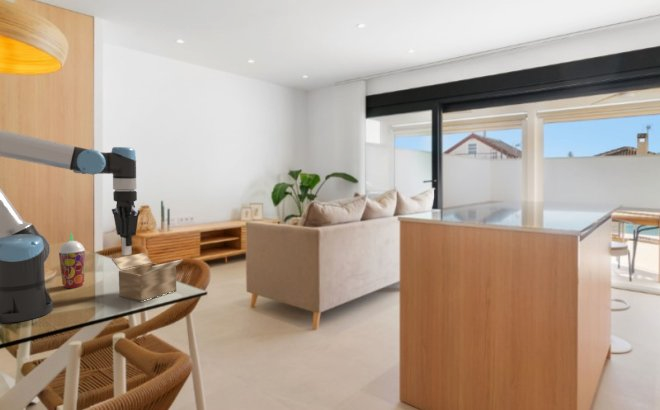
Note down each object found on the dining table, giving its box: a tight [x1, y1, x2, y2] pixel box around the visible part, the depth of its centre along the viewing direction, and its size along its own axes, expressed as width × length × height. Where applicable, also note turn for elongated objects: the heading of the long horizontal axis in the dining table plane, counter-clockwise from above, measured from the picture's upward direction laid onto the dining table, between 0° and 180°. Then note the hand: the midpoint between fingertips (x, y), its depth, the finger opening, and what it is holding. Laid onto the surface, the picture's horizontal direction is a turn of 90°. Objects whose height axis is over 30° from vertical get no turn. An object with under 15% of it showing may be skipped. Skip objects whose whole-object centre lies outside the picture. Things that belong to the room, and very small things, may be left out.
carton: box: [118, 262, 177, 302], centre depth 139 cm, size 14×12×9 cm
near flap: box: [143, 258, 184, 275], centre depth 135 cm, size 13×1×6 cm
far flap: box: [111, 252, 153, 271], centre depth 143 cm, size 13×1×6 cm
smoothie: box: [58, 233, 86, 289], centre depth 147 cm, size 8×8×20 cm
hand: (126, 254), depth 144 cm, fingers closed
